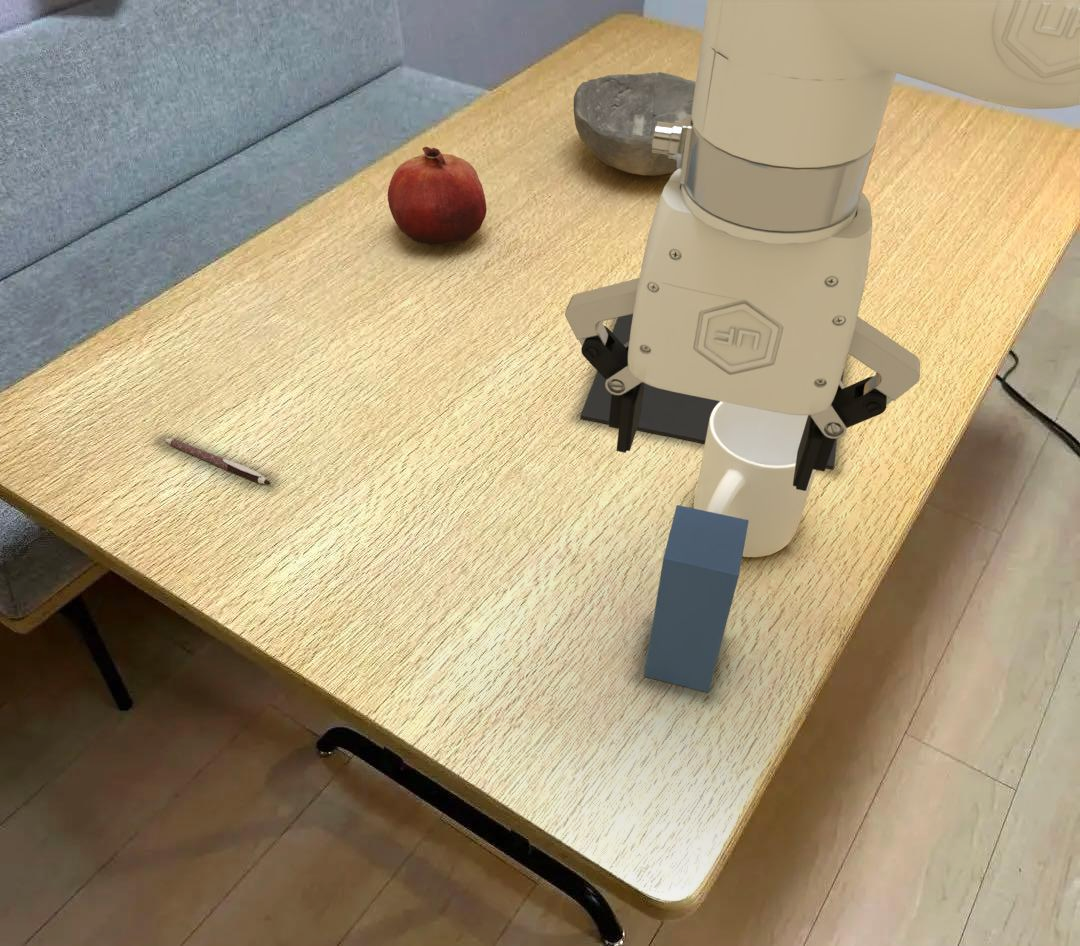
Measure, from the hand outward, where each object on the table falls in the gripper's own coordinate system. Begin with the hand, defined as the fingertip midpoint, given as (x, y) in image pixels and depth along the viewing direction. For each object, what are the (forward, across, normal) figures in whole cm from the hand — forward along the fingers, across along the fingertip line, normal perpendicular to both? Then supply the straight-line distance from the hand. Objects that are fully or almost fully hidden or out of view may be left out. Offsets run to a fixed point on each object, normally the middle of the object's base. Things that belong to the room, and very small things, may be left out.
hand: (713, 453), depth 52 cm
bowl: (+20, -16, +69) cm, 74 cm away
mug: (+20, +3, +12) cm, 24 cm away
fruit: (+20, -34, +46) cm, 61 cm away
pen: (+21, -40, +8) cm, 46 cm away
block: (+20, +1, 0) cm, 20 cm away
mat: (+20, -1, +31) cm, 37 cm away
